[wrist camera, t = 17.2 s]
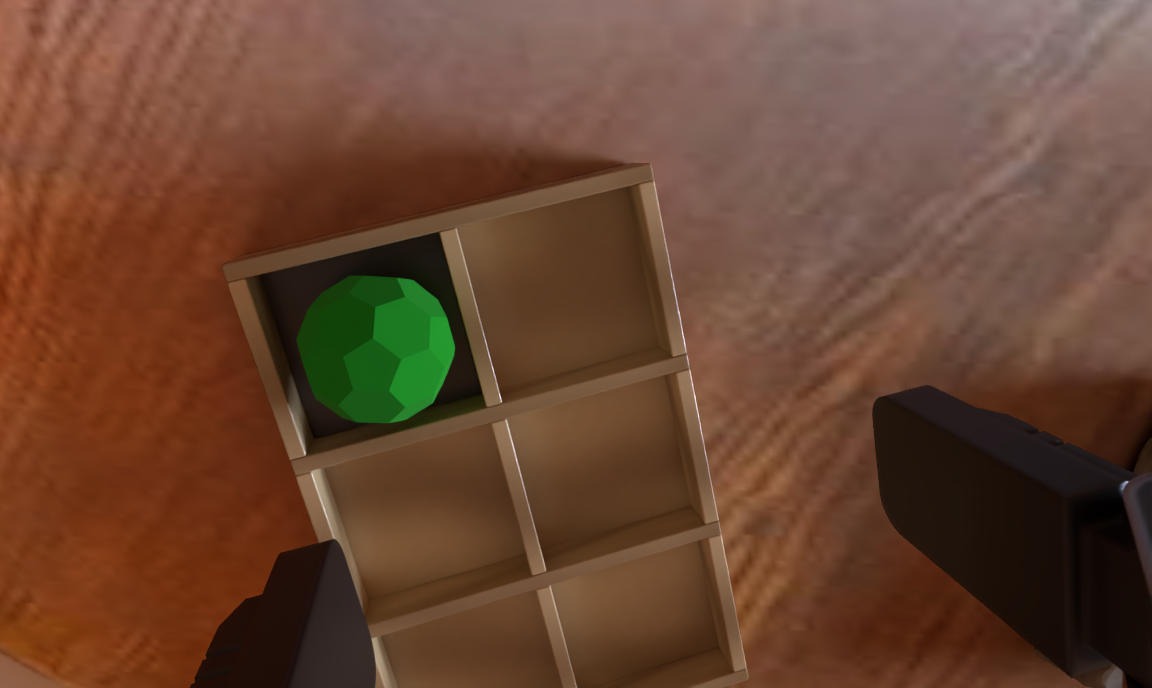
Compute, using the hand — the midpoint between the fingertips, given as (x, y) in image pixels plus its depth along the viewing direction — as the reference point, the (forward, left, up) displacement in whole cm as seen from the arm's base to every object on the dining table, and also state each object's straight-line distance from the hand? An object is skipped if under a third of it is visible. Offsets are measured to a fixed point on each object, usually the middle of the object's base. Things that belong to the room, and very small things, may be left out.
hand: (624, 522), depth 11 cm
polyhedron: (0, -5, -18) cm, 18 cm away
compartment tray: (+7, -2, -19) cm, 20 cm away
